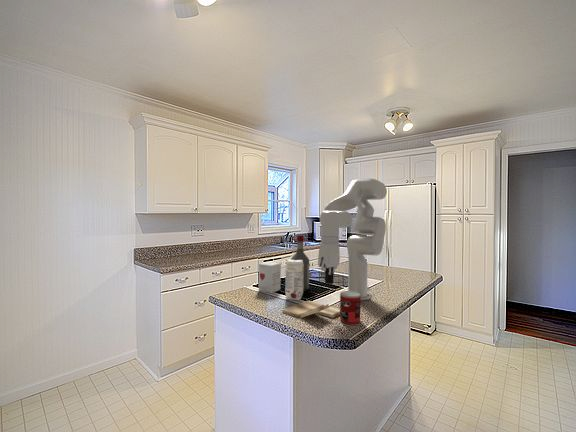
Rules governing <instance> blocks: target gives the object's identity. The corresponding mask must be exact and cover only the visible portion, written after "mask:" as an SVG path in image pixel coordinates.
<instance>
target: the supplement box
mask: <svg viewBox="0 0 576 432" xmlns="http://www.w3.org/2000/svg"><path fill="white" fill-rule="evenodd" d="M281 267H282V263H281V262H275V261H273V262H272V261H266V262H261V263H259V264H258V291H259V292H263V293H267V294H274V293H276V292H278V291H280V290H281V282H282V281H281V278H282V277H281V275H282V273H281V272H282V269H281Z"/></svg>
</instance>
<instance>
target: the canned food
mask: <svg viewBox="0 0 576 432" xmlns="http://www.w3.org/2000/svg"><path fill="white" fill-rule="evenodd" d="M361 301H362V300H361V294H360V293H358V292H353V291H348V290H346V291H345V290H344V291H341V292H340V295H339V309H340V315H339V319H340V322H342V323H344V324H347V325H357V324H359V323H360V321H361V309H362V308H361V303H362V302H361Z"/></svg>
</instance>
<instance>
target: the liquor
mask: <svg viewBox="0 0 576 432" xmlns="http://www.w3.org/2000/svg"><path fill="white" fill-rule="evenodd" d="M296 241H297V246H296V248H297V249H296V252H295V253H294V254H293V256H292V257H291V258H290V259H291V260H303V265H304V276H303V291H306V290H305V289H307V290H308V289H309V288H310V258H309V257H308V256H307V254H305V251H304V234H303V235H301V234H297V236H296Z"/></svg>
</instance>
